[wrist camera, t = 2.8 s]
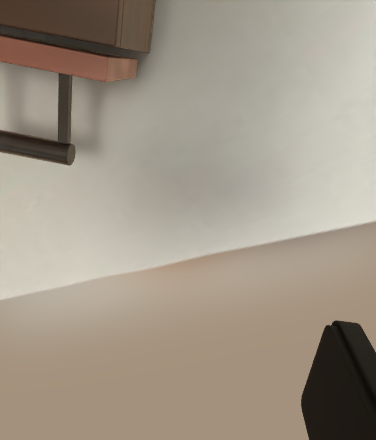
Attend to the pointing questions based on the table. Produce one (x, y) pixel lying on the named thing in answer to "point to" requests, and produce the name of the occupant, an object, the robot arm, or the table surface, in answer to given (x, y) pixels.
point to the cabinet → (85, 20)
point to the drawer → (66, 67)
